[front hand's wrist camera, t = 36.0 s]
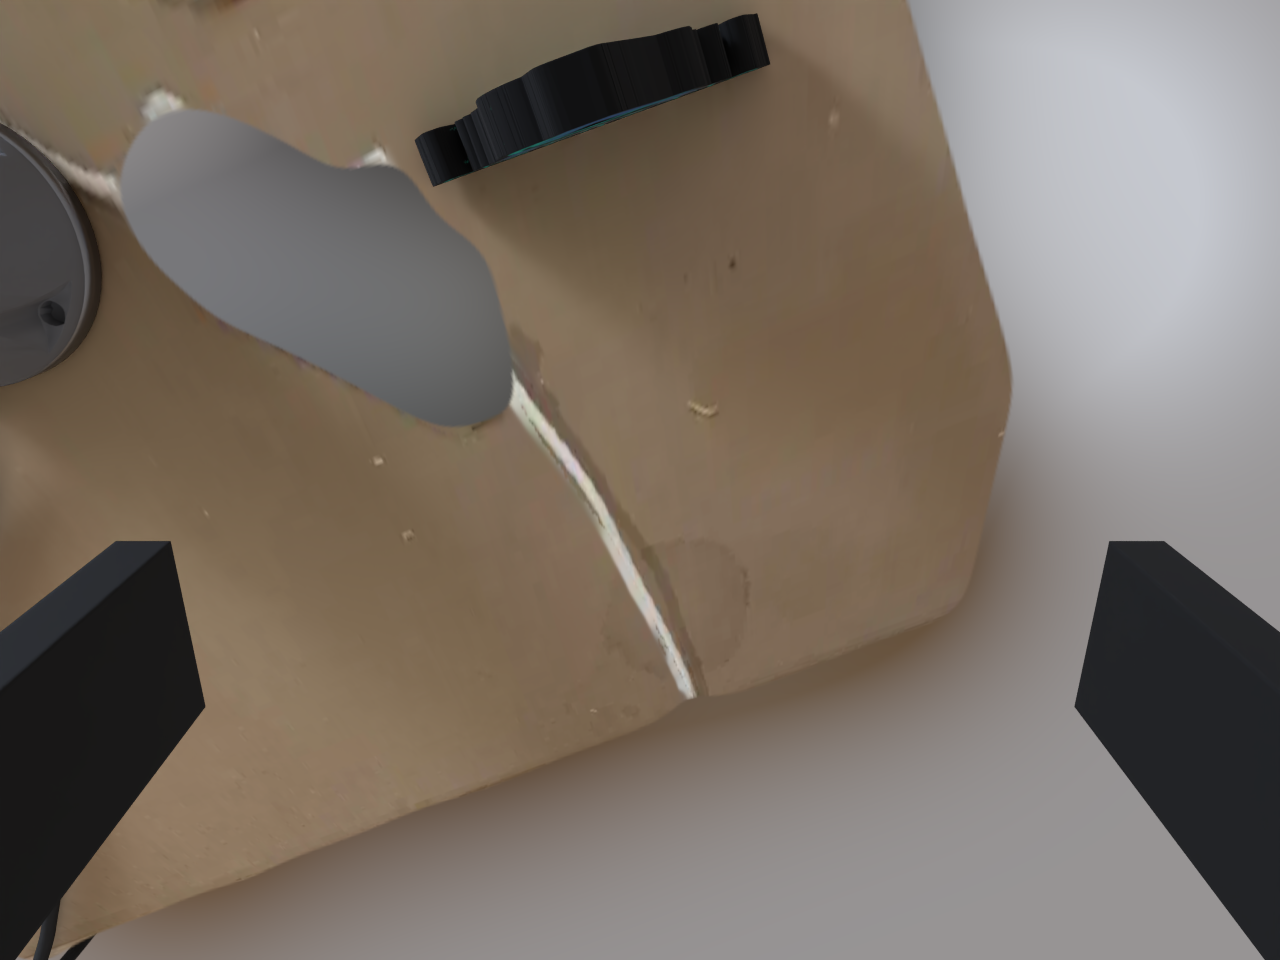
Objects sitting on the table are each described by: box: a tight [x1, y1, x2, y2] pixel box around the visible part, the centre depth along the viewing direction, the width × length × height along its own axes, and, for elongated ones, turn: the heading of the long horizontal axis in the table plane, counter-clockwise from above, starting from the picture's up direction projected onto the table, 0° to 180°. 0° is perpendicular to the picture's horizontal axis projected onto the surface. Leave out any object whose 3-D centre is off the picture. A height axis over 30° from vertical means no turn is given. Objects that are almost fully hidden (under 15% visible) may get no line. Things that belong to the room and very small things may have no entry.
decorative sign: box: [415, 14, 770, 187], centre depth 41 cm, size 19×2×15 cm, turn 109°
